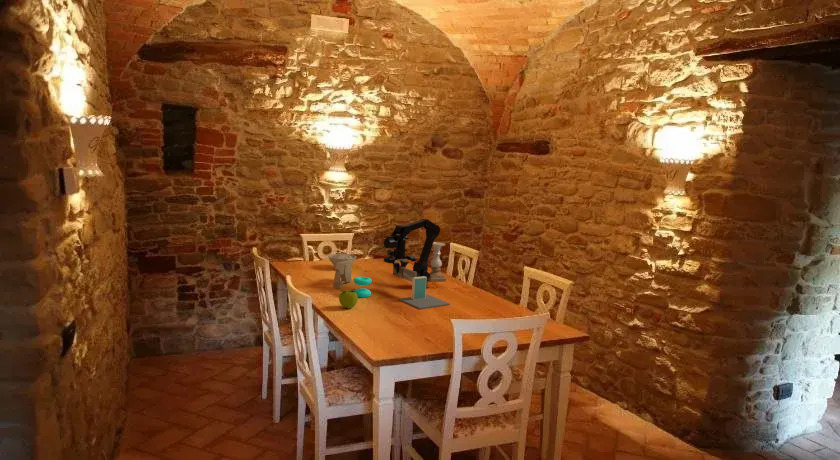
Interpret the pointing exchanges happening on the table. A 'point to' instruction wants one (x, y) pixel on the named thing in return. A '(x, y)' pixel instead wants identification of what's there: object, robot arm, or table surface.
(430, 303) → the grey square plate
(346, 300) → the fruit
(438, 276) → the candle holder
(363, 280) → the donuts
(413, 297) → the tile
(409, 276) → the brown upright panel
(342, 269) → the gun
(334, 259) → the bowl
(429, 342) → the table surface
